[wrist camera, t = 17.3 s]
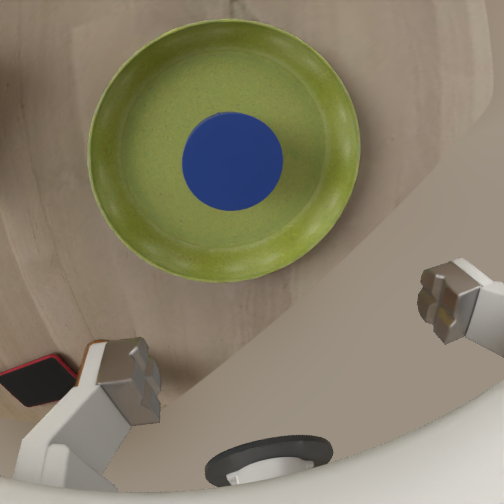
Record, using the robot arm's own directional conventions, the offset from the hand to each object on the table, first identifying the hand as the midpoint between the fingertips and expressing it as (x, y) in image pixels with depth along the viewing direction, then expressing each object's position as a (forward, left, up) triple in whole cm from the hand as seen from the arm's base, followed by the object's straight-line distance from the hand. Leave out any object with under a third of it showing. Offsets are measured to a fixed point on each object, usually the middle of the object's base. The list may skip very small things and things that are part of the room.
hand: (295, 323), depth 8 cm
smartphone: (-26, +26, -19) cm, 42 cm away
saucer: (+1, 0, -19) cm, 19 cm away
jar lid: (+1, 0, -14) cm, 14 cm away
